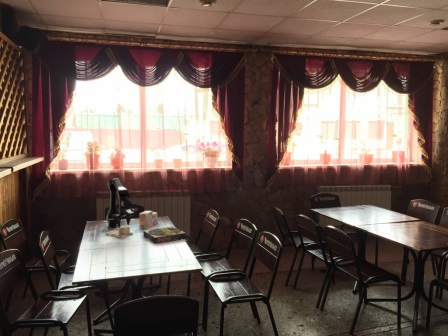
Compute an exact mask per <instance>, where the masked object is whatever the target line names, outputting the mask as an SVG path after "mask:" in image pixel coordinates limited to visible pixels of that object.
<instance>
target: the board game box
mask: <svg viewBox="0 0 448 336" xmlns="http://www.w3.org/2000/svg"><path fill="white" fill-rule="evenodd" d="M142 236H143V238H145V239H147V240H149V242H152V243H153V244H155V245H156V244H157V245H158V244H163V243H164V244H165V243H169V242H176V240H177V241H182V240H181V239H183V240H187V232H184V230H181V229H179V228H177V227H175V226H173V225H172V226H167V227H159V228H152V229H144V230H143V235H142Z"/></svg>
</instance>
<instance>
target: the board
mask: <svg viewBox="0 0 448 336" xmlns="http://www.w3.org/2000/svg"><path fill="white" fill-rule="evenodd" d="M132 235H134V233H133V232H131V231H130V234H127V235H124V234H119V229H118V230H117V229H115V230H110V231H108V232H105V236H111V237H115V238H116V237H118V238H122V239H123V238H127V237H130V236H132Z"/></svg>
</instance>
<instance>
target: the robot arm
mask: <svg viewBox="0 0 448 336" xmlns="http://www.w3.org/2000/svg"><path fill="white" fill-rule="evenodd" d="M106 185H107V187H108V189H109V194H110V195H109V208H108V210H107V214H106V216H105V220H106V221H107V223H108V224H107V227H106V228H109V229H115V228H118V229H119V228H120V227H121V221H122V218H123V217H125V220H126V225H127V226H129V225H130V222H131V219H132V218H133V217H134V216H135V215H136V212H135V211H136V210H135V209H134V208H132V209H130V208H131V206H132V202H131V201H130V199H131V195H130V192H129V190H128V189H127V188H126V187H124V186H123V185H122V183H121V181H120V178H112V179H110V180H108V181H107V184H106ZM117 197H118V200H119V201H118V202H119V204H118V205H119V207H118V208H117ZM117 209H118V210H119V212H118V210H117Z"/></svg>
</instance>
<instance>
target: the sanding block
mask: <svg viewBox="0 0 448 336" xmlns="http://www.w3.org/2000/svg"><path fill="white" fill-rule="evenodd" d="M118 231H119V234H124V235H127V234H130V232H131V227H130V226H128V225H127V226H126V225H120V228H119V227H118Z"/></svg>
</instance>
